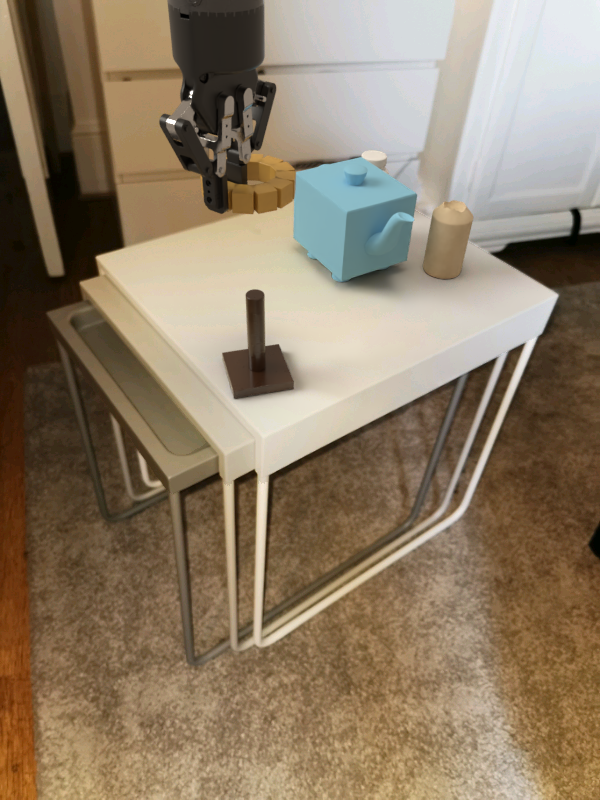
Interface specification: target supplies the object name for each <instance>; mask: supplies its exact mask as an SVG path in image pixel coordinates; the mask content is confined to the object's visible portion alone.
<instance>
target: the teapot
mask: <svg viewBox="0 0 600 800" xmlns="http://www.w3.org/2000/svg"><path fill="white" fill-rule="evenodd" d="M417 200H418V194H417V192H416V191H414V190H413V189H411V188H409V187H408V186H406V185H405V184H404V183H403V182H401V181H399V180H398V179H397V178H394V177H393V176H392V175H391V174H389V175H388V174H387V173H385V172H384V171H382V170H381V169H379V168H378V167H376V166H375V165H373V164H372V163H370V162H368V161H367V160H365V159H364V158H362V157H361V156H359V157H356V158H352V159H347V160H342V161H338V162H334V163H323V164H320V165H319V166H316V167H313V168H307V169H304V170H299V171H296V191H295V198H294V199H293V229H292V231H293V235H292V236H293V239H294V241H296V242H297V243H298V244H299V245H300V246H302V247H303V248H304V249H305V250H306V251H307V254H306V255H307V257H308V258H310V259H312V260H317V261H318V262H319V263H320V264H322V265H323V266H324V267H325V268H326V269H327V270H328V271H329V272H330V273H331V278H332V279H333V281H336V282H339V283H345V282H349V281H350V280H351V279H352V278H356V277H360V276H362V275H365V274H369V273H372V272H375V271H378V270H379V271H380V270H386V269H389V268H390V266H391V267H392V266H394V265H397V264H400V263H403V262H406V261H408V256H409V249H410V243H411V238H412V232H413V231H412V230H413V226H414V225H413V224H414V222H415V212H416V207H417V206H416V205H417Z"/></svg>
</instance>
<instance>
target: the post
mask: <svg viewBox="0 0 600 800" xmlns="http://www.w3.org/2000/svg"><path fill="white" fill-rule="evenodd" d="M265 298H266V297H265V293H264V291H263V290H260V289H258V288H257V289H255V288H253V289H250V290H248V291H246V292H245V310H246V311H245V313H246V315H245V317H246V318H245V319H246V337H247V339H246V341H247V348H243V349H238V350H236V349H235V350H230V351H224V352H221V359H222V363H223V367H224V370H225V374H226V377H227V380H228V383H229V387H230V390H231V393H232V394H231V395H232V397H233V400H235V399H243V398H247V397H252V396H259V395H265V394H270V393H277V392H282V391H288V390H293V389H294V388H295V380H294V378H293V376H292V373H291V371H290V368H289V366H288V363H287V360H286V358H285V356H284V353H283V351H282V348H281V346H280V344H279V343H276V344H269V345H266V305H265V304H266V303H265V302H266V301H265V300H266V299H265Z"/></svg>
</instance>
